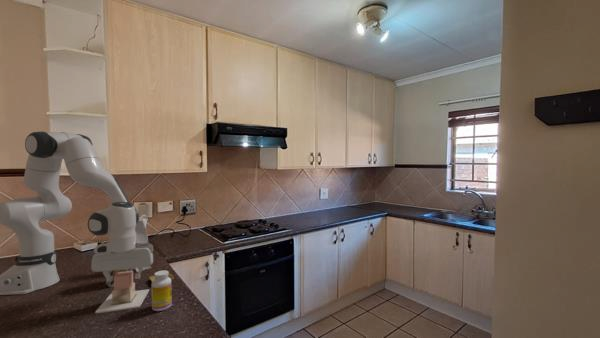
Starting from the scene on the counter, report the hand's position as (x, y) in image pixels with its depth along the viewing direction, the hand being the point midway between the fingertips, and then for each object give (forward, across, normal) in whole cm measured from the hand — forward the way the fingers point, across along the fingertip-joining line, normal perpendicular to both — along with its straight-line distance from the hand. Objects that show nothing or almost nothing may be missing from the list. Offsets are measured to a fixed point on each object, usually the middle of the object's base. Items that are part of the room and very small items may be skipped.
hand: (123, 279), depth 105 cm
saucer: (+9, -10, -16) cm, 21 cm away
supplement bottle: (+9, -15, +9) cm, 19 cm away
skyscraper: (+9, +3, -35) cm, 36 cm away
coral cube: (+3, 0, 0) cm, 3 cm away
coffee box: (+9, +8, -20) cm, 23 cm away
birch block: (+8, 0, 0) cm, 8 cm away
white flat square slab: (+8, 0, 0) cm, 8 cm away
